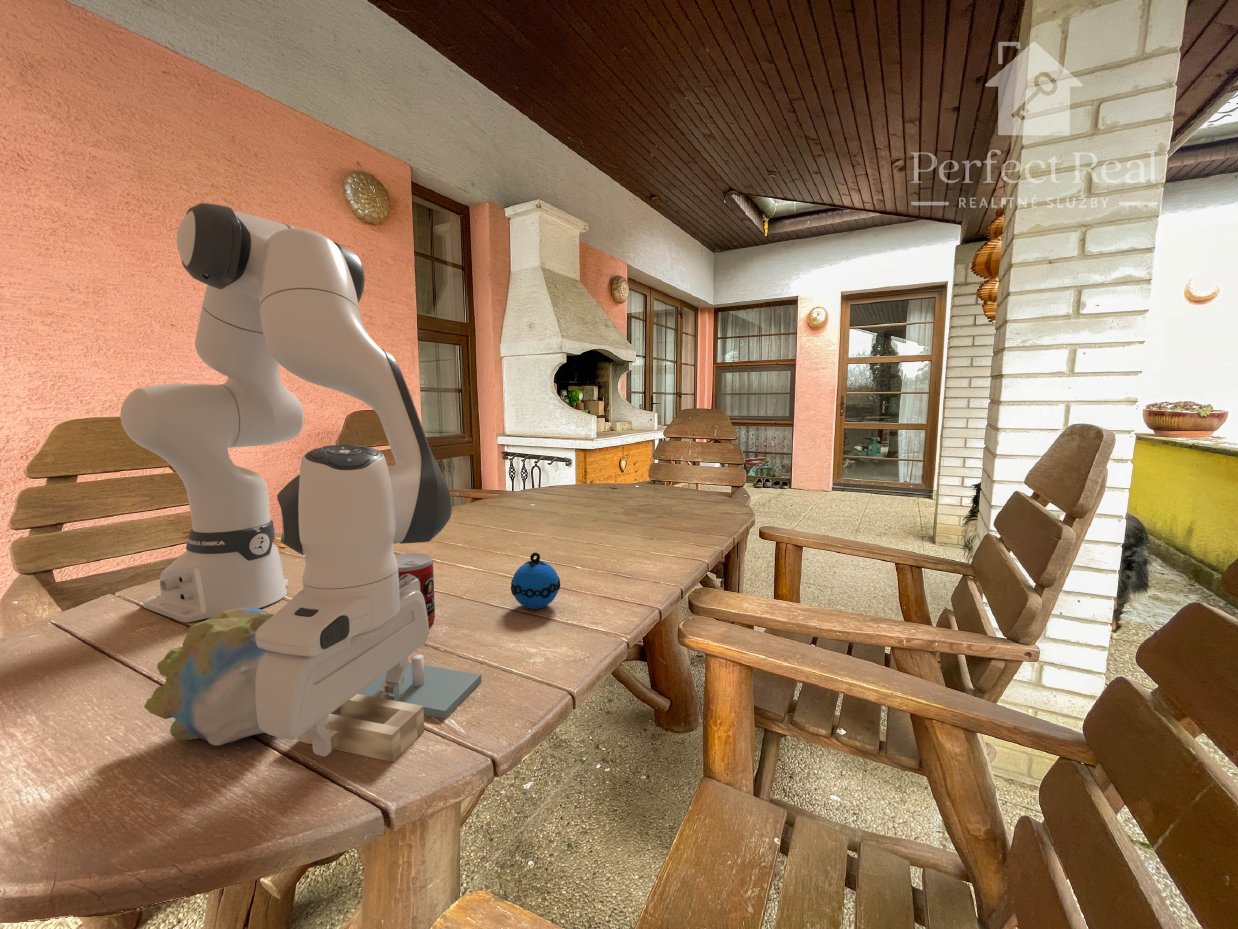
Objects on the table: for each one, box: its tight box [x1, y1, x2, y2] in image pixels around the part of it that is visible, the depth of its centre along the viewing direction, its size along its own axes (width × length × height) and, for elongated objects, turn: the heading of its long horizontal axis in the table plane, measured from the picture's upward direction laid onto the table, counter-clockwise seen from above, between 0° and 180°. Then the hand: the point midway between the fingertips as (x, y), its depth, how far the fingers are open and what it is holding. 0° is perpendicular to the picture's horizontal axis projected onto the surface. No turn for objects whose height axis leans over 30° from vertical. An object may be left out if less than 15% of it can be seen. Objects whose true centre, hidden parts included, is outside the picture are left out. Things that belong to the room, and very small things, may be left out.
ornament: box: [510, 552, 561, 610], centre depth 88 cm, size 9×9×10 cm
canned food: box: [394, 552, 436, 628], centre depth 81 cm, size 8×8×11 cm
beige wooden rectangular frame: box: [297, 694, 425, 763], centre depth 54 cm, size 12×5×3 cm, turn 75°
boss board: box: [358, 654, 483, 720], centre depth 63 cm, size 16×8×4 cm, turn 75°
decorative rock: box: [143, 607, 275, 747], centre depth 56 cm, size 14×16×15 cm
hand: (361, 721), depth 54 cm, fingers open, 8 cm apart
